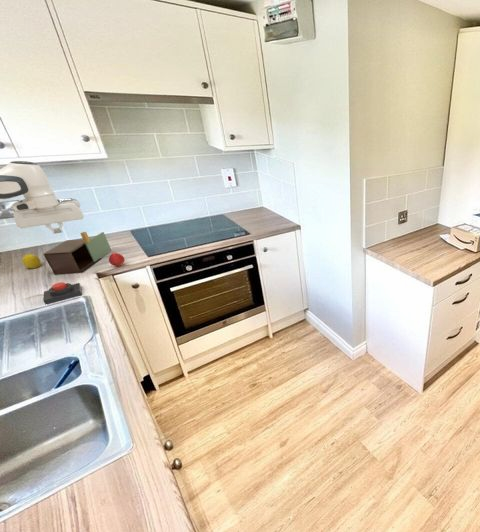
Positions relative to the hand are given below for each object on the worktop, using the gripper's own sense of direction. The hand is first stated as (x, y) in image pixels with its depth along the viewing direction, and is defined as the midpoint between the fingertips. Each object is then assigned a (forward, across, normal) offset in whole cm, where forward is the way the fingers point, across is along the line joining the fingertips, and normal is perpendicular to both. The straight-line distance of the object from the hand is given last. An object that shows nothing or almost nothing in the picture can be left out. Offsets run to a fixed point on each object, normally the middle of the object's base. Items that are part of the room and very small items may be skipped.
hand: (58, 232), depth 139 cm
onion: (+22, -15, -1) cm, 26 cm away
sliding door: (+21, -10, -20) cm, 31 cm away
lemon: (+22, +15, -23) cm, 35 cm away
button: (+18, +6, +17) cm, 26 cm away
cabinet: (+22, 0, -14) cm, 26 cm away
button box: (+22, +6, +17) cm, 28 cm away
